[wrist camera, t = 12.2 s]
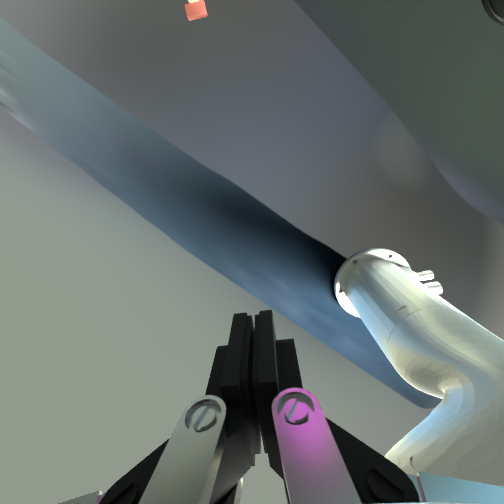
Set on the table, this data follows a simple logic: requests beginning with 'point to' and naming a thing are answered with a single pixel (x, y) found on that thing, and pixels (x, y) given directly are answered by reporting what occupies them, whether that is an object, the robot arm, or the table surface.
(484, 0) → the french press
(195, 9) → the wooden frame
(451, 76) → the table surface
